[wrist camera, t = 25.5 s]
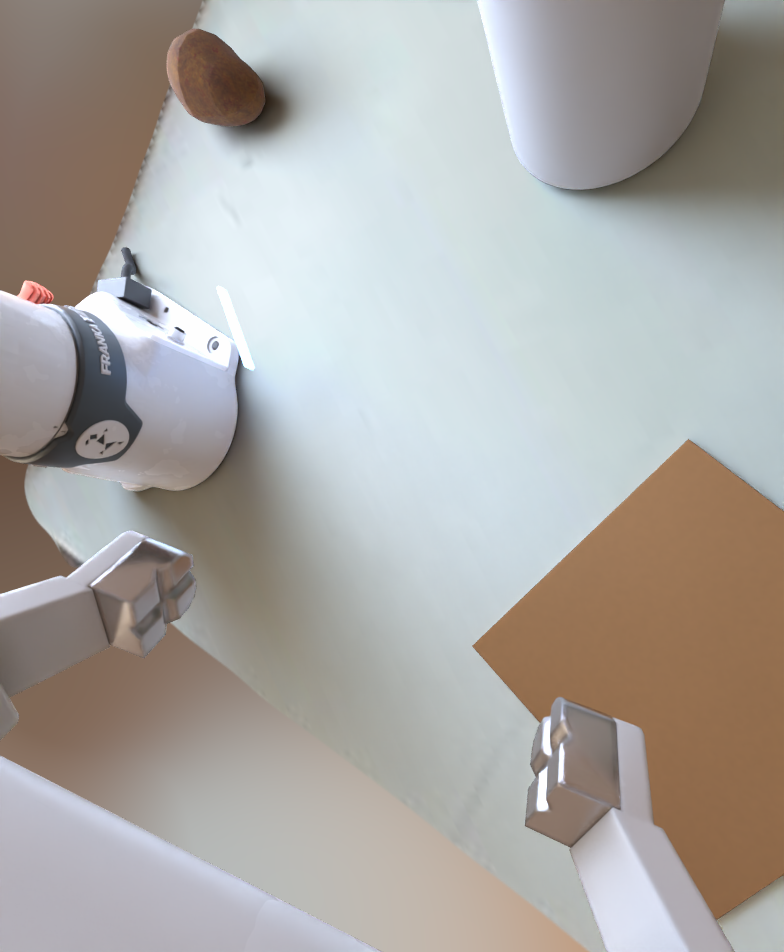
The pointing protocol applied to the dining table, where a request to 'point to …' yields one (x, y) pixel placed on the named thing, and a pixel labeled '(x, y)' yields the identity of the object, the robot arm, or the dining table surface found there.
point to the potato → (213, 80)
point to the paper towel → (675, 660)
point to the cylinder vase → (598, 81)
